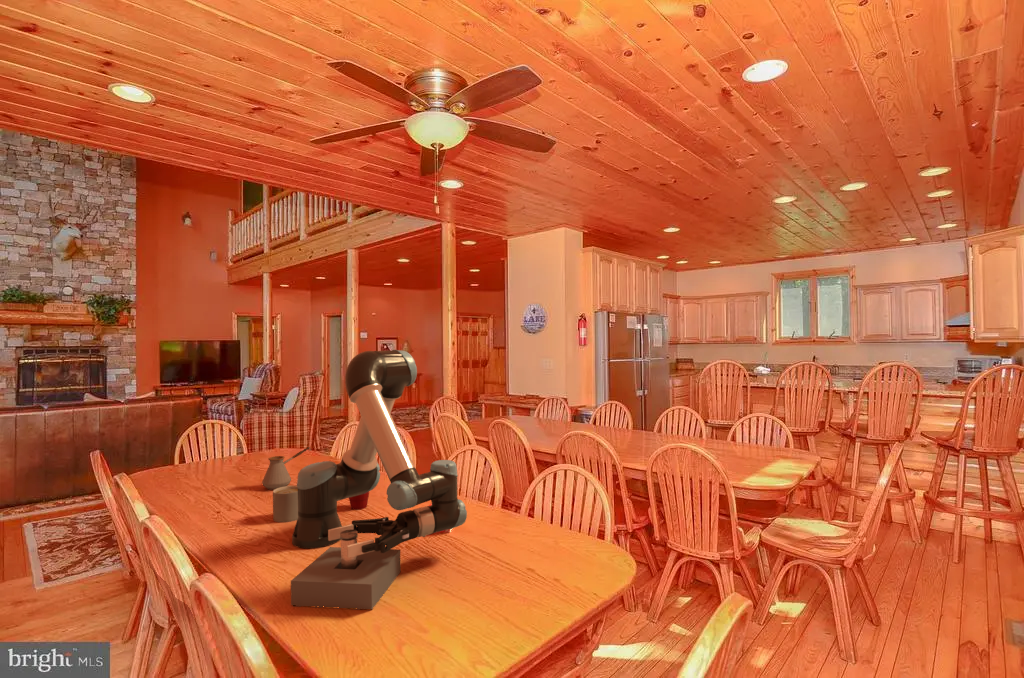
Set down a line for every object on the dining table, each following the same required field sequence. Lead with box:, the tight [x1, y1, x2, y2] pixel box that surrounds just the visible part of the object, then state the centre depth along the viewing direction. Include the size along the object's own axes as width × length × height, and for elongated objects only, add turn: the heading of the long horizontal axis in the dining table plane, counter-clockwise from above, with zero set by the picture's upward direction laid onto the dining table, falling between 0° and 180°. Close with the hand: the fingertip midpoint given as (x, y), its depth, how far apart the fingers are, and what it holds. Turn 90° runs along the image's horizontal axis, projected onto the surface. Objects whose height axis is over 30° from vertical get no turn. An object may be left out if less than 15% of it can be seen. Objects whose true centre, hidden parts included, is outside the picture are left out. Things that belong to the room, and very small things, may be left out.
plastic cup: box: [348, 491, 370, 511], centre depth 196 cm, size 11×11×12 cm
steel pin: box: [340, 530, 359, 569], centre depth 133 cm, size 4×4×14 cm
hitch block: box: [290, 546, 402, 610], centre depth 133 cm, size 20×20×6 cm
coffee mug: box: [272, 485, 298, 523], centre depth 188 cm, size 13×10×10 cm
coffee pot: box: [261, 446, 312, 491], centre depth 228 cm, size 21×12×15 cm, turn 139°
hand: (337, 543), depth 131 cm, fingers open, 13 cm apart
